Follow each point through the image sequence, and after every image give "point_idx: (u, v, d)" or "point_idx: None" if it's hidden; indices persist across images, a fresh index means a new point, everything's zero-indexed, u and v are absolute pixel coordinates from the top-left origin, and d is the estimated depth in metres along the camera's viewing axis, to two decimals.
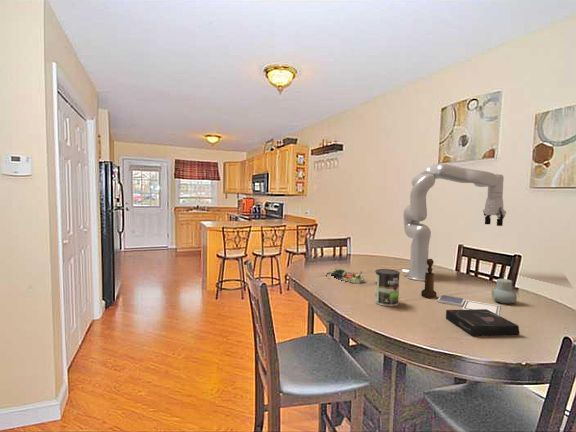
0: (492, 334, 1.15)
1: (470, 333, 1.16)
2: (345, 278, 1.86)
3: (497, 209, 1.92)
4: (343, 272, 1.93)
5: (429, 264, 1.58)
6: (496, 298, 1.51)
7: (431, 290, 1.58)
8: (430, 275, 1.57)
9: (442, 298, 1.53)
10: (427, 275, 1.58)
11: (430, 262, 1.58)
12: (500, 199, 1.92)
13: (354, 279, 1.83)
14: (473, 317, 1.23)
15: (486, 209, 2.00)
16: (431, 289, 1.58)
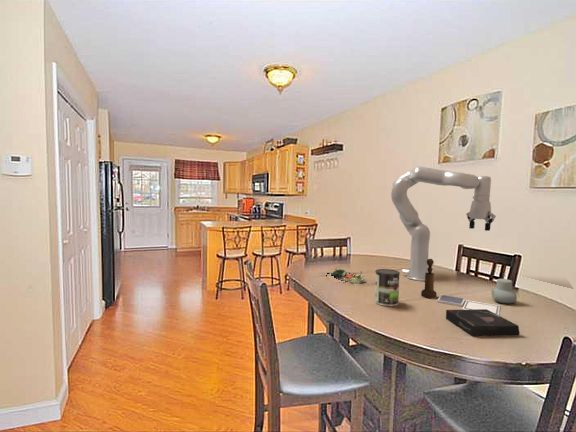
0: (492, 334, 1.15)
1: (470, 333, 1.16)
2: (345, 278, 1.86)
3: (486, 213, 1.82)
4: (343, 272, 1.93)
5: (429, 264, 1.58)
6: (496, 298, 1.51)
7: (431, 290, 1.58)
8: (430, 275, 1.57)
9: (442, 298, 1.53)
10: (427, 275, 1.58)
11: (430, 262, 1.58)
12: (489, 203, 1.82)
13: (354, 279, 1.82)
14: (473, 317, 1.23)
15: (472, 212, 1.89)
16: (431, 289, 1.58)
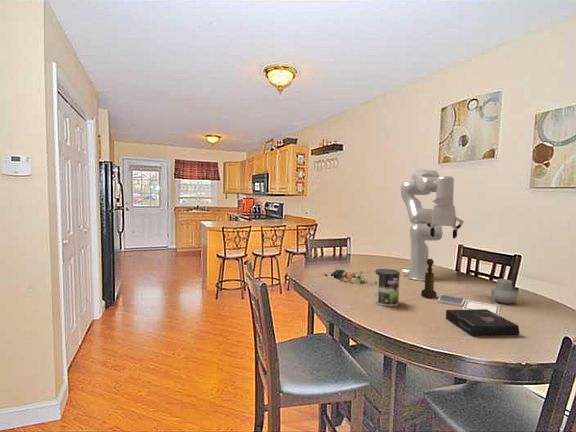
0: (492, 334, 1.15)
1: (470, 333, 1.16)
2: (345, 278, 1.86)
3: (454, 218, 1.59)
4: (343, 272, 1.93)
5: (429, 264, 1.58)
6: (496, 298, 1.51)
7: (431, 290, 1.58)
8: (430, 275, 1.57)
9: (442, 298, 1.53)
10: (427, 275, 1.58)
11: (430, 262, 1.58)
12: (454, 207, 1.61)
13: (354, 279, 1.82)
14: (473, 317, 1.23)
15: (436, 218, 1.63)
16: (431, 289, 1.58)
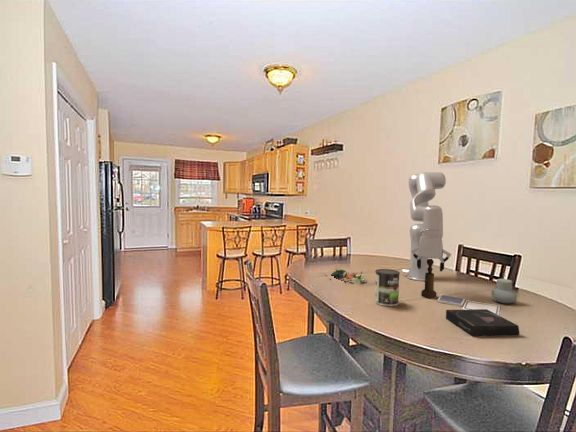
0: (492, 334, 1.15)
1: (470, 333, 1.16)
2: (346, 278, 1.85)
3: (441, 251, 1.54)
4: (344, 272, 1.93)
5: (429, 264, 1.58)
6: (496, 298, 1.51)
7: (431, 290, 1.58)
8: (430, 275, 1.57)
9: (442, 298, 1.53)
10: (427, 275, 1.58)
11: (430, 262, 1.58)
12: (441, 239, 1.56)
13: (355, 279, 1.82)
14: (473, 317, 1.23)
15: (423, 250, 1.57)
16: (431, 289, 1.58)
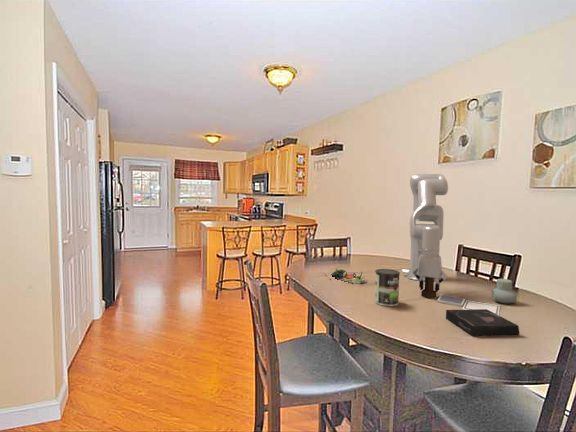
0: (492, 334, 1.15)
1: (470, 333, 1.16)
2: (346, 278, 1.85)
3: (440, 271, 1.55)
4: (344, 272, 1.92)
5: None
6: (496, 298, 1.51)
7: (431, 290, 1.58)
8: None
9: (442, 298, 1.53)
10: None
11: None
12: (440, 258, 1.56)
13: (355, 279, 1.82)
14: (473, 317, 1.23)
15: (422, 270, 1.58)
16: (431, 289, 1.58)
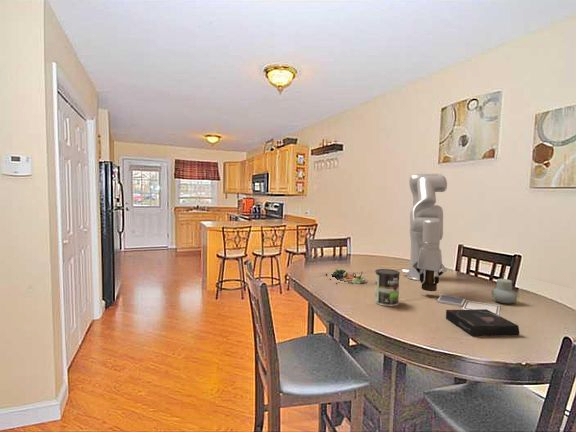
0: (492, 334, 1.15)
1: (470, 333, 1.16)
2: (346, 278, 1.85)
3: (440, 264, 1.55)
4: (344, 272, 1.92)
5: None
6: (496, 298, 1.51)
7: (431, 283, 1.59)
8: None
9: (442, 298, 1.53)
10: None
11: None
12: None
13: (355, 279, 1.82)
14: (473, 317, 1.23)
15: (422, 263, 1.59)
16: (431, 282, 1.59)
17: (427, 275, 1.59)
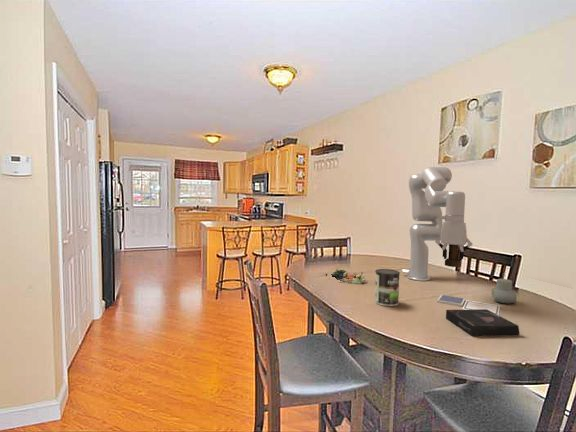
0: (492, 334, 1.15)
1: (470, 333, 1.16)
2: (346, 279, 1.85)
3: (465, 237, 1.47)
4: (344, 273, 1.92)
5: None
6: (496, 298, 1.51)
7: (456, 258, 1.50)
8: None
9: (442, 298, 1.53)
10: None
11: None
12: (465, 225, 1.48)
13: (355, 280, 1.81)
14: (473, 317, 1.23)
15: (445, 237, 1.50)
16: (456, 257, 1.50)
17: (451, 250, 1.50)
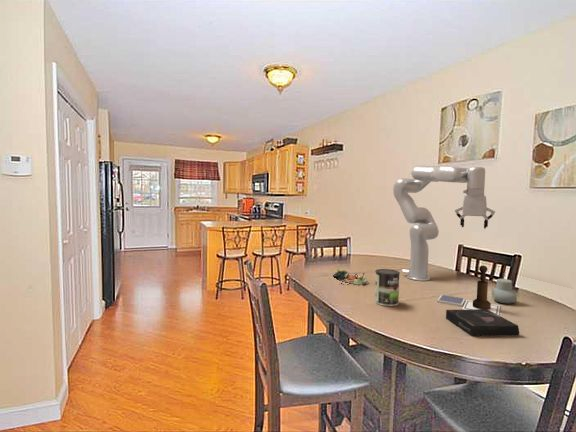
0: (492, 334, 1.15)
1: (470, 333, 1.16)
2: (347, 279, 1.83)
3: (485, 209, 1.61)
4: (345, 273, 1.90)
5: (482, 271, 1.43)
6: (496, 298, 1.51)
7: (485, 300, 1.42)
8: (484, 284, 1.42)
9: (442, 298, 1.53)
10: (480, 284, 1.43)
11: (484, 269, 1.42)
12: (485, 197, 1.62)
13: (356, 281, 1.79)
14: (473, 317, 1.23)
15: (467, 209, 1.65)
16: (485, 299, 1.42)
17: (480, 291, 1.43)
